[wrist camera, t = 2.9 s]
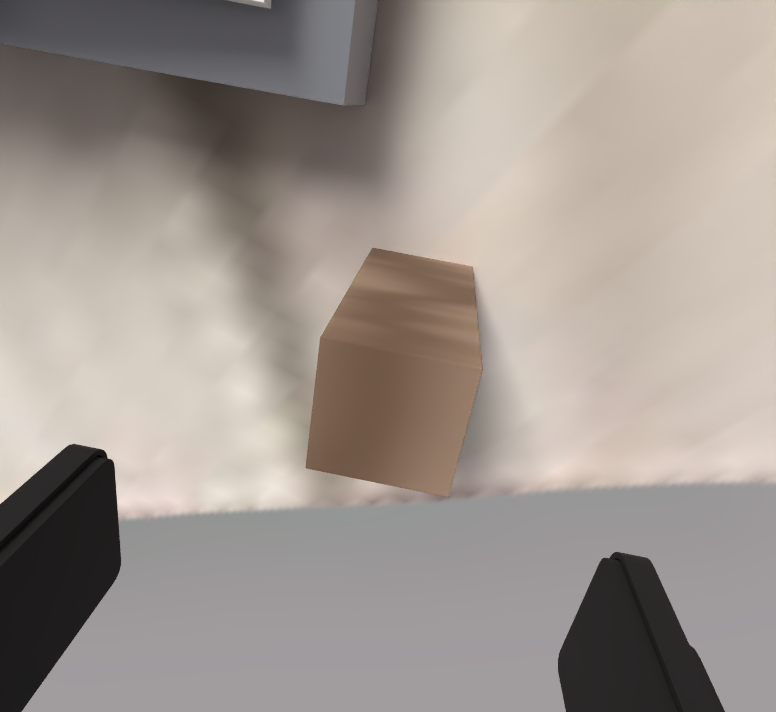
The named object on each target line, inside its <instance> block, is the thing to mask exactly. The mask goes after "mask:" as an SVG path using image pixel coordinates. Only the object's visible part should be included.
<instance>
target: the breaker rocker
mask: <svg viewBox="0 0 776 712" xmlns="http://www.w3.org/2000/svg"><path fill="white" fill-rule="evenodd" d="M227 1H232V2H237V3H243V4H248V5H253V6H258V7H264V8H269V9H271V0H227Z"/></svg>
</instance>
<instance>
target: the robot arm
mask: <svg viewBox="0 0 776 712" xmlns="http://www.w3.org/2000/svg"><path fill="white" fill-rule="evenodd" d="M119 540H120V539H119V525H118V511H117V496H116V482H115V468H114V462H113V461H112V460H111V459H108V458H107V454H106V452H105V451H104V450H101V449H96V448H91V447H86V446H81V445H76V444H72V445H69V446H67V447H66V448H64V449H63V450H62V451H61V452H60V453H59V454H58V455H56V456H55V457H54V458H53V459H52V460H51V461H50V462H48V463H47V464H46V465H45V466H44V467H43V468H42V469H40V470H39V471H38V472H37V473H36V474H35V475H33V476H32V477H31V478H30V479H29V480H28V481H27V482H25V483H24V484H23V485H22V486H21V487H20V488H19V489H17V490H16V491H15V492H14V493H13V494H12V495H10V496H9V497H8V498H7V499H6V500H5V501H4V502H2V503H1V504H0V712H21V711H22V710H23V709H24V707H25V706H26V705H27V703H28V701H29V700H30V699H31V698H32V696H33V695H34V693H35V692H36V690H37V689H38V688H39V686H40V685H41V684H42V682H43V681H44V679H45V678H46V677H47V675H48V674H49V672H50V671H51V670H52V668H53V667H54V665H55V664H56V662H57V661H58V660H59V658H60V657H61V656H62V654H63V653H64V651H65V650H66V649H67V647H68V646H69V644H70V643H71V641H72V640H73V639H74V637H75V636H76V635H77V633H78V632H79V630H80V629H81V628H82V626H83V625H84V623H85V622H86V620H87V619H88V618H89V616H90V615H91V613H92V612H93V611H94V609H95V608H96V607H97V605H98V604H99V602H100V601H101V600H102V598H103V597H104V595H105V594H106V592H107V591H108V590H109V588H110V587H111V586H112V584H113V583H114V581H115V580H116V577H117V575H118V573H119V570H120V566H121V553H120V541H119ZM558 672H559V678H560V683H561V688H562V693H563V698H564V703H565V708H566V712H725V711H724V709H723V707H722V705H721V703H720V700H719V698H718V696H717V694H716V692H715V689H714V687H713V685H712V683H711V681H710V679H709V676H708V674H707V672H706V670H705V668H704V666H703V663H702V661H701V659H700V657H699V656H698V654H697V652H696V651H695V649H694V648H693V647H691V646H690V645H689V643H688V641H687V639H686V636H685V634H684V632H683V630H682V628H681V626H680V623H679V621H678V619H677V617H676V614H675V612H674V610H673V608H672V606H671V603H670V601H669V599H668V597H667V595H666V593H665V590H664V588H663V586H662V584H661V581H660V579H659V577H658V575H657V573H656V570H655V568H654V566H653V564H652V563H651V561H650V560H649V559H648V558H645V557H640V556H635V555H629V554H625V553H620V552H615V553H613V554H612V555H611V557H610V558H603V559H602V560H601V561H600V563H599V565H598V568H597V570H596V572H595V574H594V576H593V579H592V581H591V583H590V586H589V588H588V590H587V592H586V594H585V597H584V599H583V601H582V603H581V605H580V608H579V610H578V612H577V614H576V617H575V619H574V621H573V623H572V626H571V628H570V630H569V632H568V635H567V637H566V639H565V641H564V643H563V646H562V648H561V650H560V653H559V658H558Z"/></svg>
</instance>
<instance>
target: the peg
mask: <svg viewBox="0 0 776 712" xmlns="http://www.w3.org/2000/svg"><path fill="white" fill-rule="evenodd" d="M482 370H483V368H482V358H481V348H480V338H479V328H478V318H477V308H476V297H475V287H474V277H473V267H471V266H466V265H460V264H455V263H450V262H445V261H439V260H434V259H429V258H423V257H418V256H413V255H407V254H402V253H397V252H391V251H386V250H381V249H376V248H372V250H371V251H370V253H369V255H368V257H367V258H366V260H365V262H364V263H363V265H362V267H361V269H360V270H359V272H358V274H357V275H356V277H355V279H354V281H353V282H352V284H351V286H350V288H349V289H348V291H347V293H346V294H345V296H344V298H343V300H342V301H341V303H340V305H339V306H338V308H337V310H336V312H335V313H334V315H333V317H332V318H331V320H330V322H329V324H328V325H327V327H326V329H325V331H324V332H323V334H322V336H321V337H320V345H319V354H318V363H317V371H316V380H315V389H314V398H313V407H312V416H311V425H310V433H309V442H308V451H307V460H306V468H307V469H312V470H317V471H322V472H327V473H332V474H337V475H342V476H347V477H351V478H356V479H361V480H366V481H371V482H376V483H381V484H386V485H391V486H396V487H400V488H405V489H410V490H415V491H420V492H425V493H430V494H435V495H440V496H445V497H448V496H449V493H450V489H451V485H452V481H453V478H454V474H455V470H456V467H457V463H458V459H459V455H460V452H461V448H462V444H463V440H464V437H465V433H466V429H467V426H468V422H469V418H470V414H471V411H472V407H473V403H474V400H475V396H476V392H477V388H478V385H479V381H480V377H481V374H482Z"/></svg>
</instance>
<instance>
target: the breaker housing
mask: <svg viewBox="0 0 776 712" xmlns="http://www.w3.org/2000/svg"><path fill="white" fill-rule="evenodd" d="M377 8H378V0H271V9H269V8H264V7H258V6H253V5H248V4H243V3H237V2H232V1H227V0H0V44H2V45H8V46H14V47H19V48H25V49H30V50H36V51H41V52H47V53H53V54H58V55H64V56H69V57H75V58H80V59H86V60H92V61H97V62H103V63H108V64H114V65H120V66H125V67H131V68H136V69H142V70H147V71H153V72H159V73H164V74H170V75H175V76H181V77H186V78H192V79H198V80H203V81H209V82H214V83H220V84H226V85H231V86H237V87H242V88H248V89H253V90H259V91H265V92H270V93H276V94H281V95H287V96H292V97H298V98H304V99H309V100H315V101H320V102H326V103H332V104H337V105H343V106H353V105H365V102H366V94H367V86H368V78H369V71H370V63H371V55H372V47H373V39H374V31H375V23H376V15H377Z"/></svg>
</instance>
